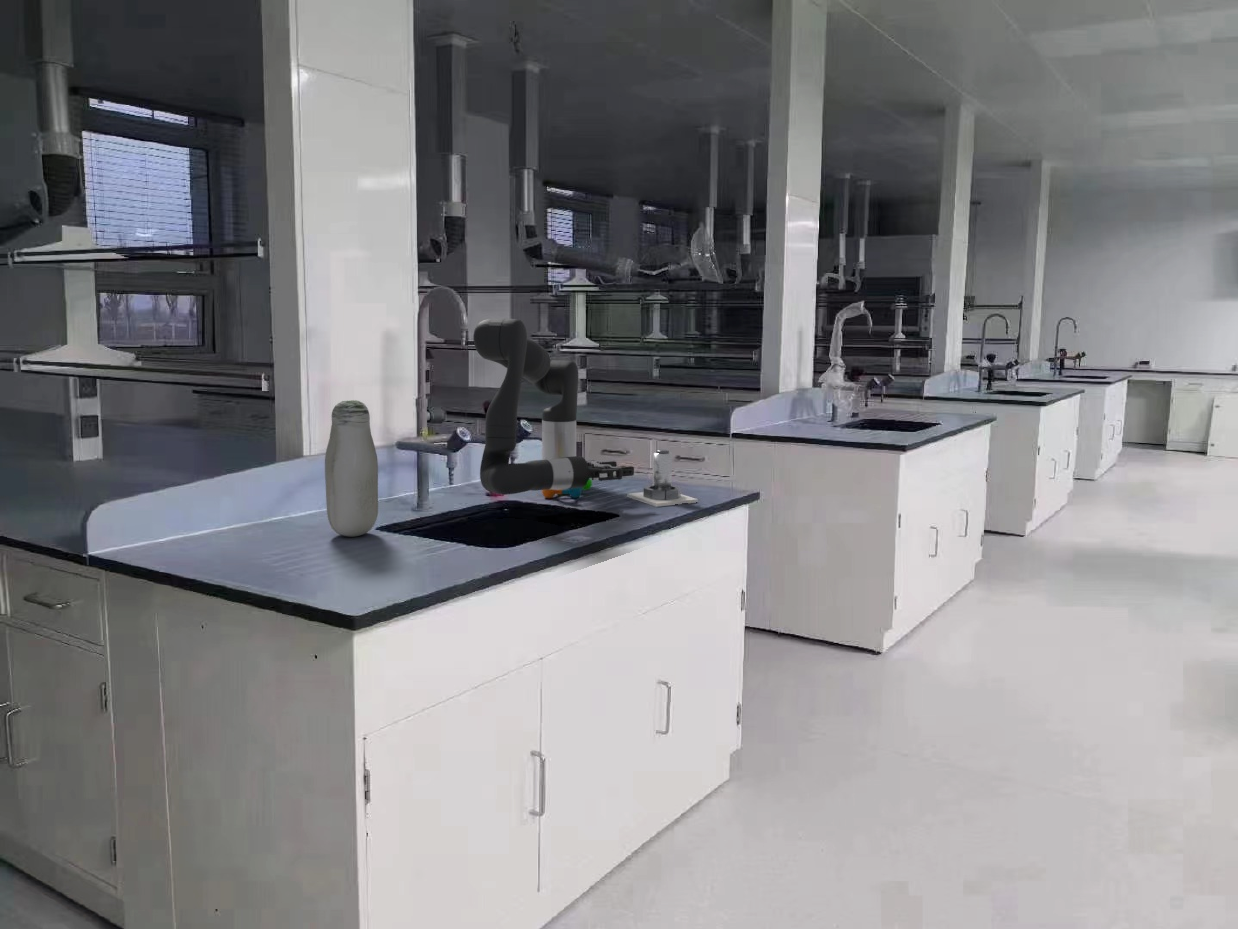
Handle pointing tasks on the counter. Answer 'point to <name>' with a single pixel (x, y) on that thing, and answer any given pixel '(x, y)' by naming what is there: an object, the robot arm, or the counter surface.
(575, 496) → the molecular model
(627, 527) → the counter surface
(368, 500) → the grey bottle
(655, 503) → the plate
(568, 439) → the robot arm
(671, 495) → the collar
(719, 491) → the counter surface
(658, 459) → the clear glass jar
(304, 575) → the counter surface
